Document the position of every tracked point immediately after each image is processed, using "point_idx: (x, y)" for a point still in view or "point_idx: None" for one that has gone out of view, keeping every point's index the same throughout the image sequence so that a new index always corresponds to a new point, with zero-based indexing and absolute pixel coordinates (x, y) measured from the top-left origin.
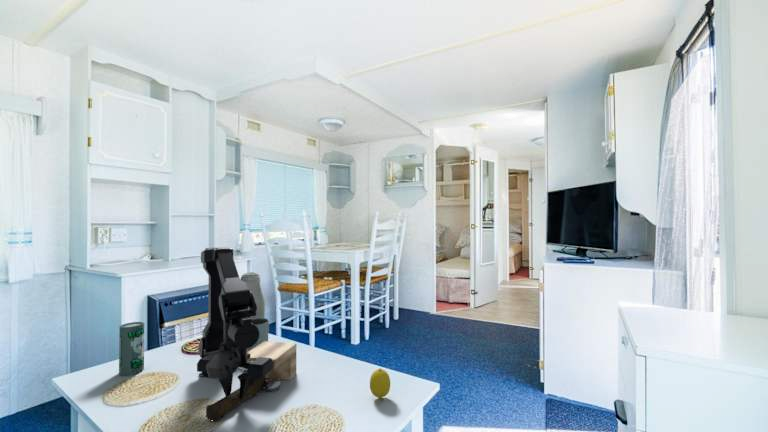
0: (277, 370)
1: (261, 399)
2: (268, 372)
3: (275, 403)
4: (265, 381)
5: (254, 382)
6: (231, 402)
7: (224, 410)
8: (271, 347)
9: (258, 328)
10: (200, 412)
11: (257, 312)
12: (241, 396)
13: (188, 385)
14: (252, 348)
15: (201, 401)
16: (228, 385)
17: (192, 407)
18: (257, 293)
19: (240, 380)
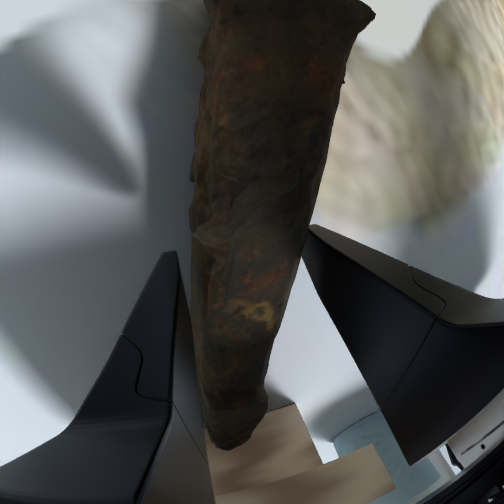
0: (215, 456)
1: (123, 327)
2: (253, 435)
3: (21, 325)
4: (202, 415)
5: (207, 404)
6: (201, 167)
7: (206, 73)
8: None
9: (384, 501)
10: (398, 93)
11: (407, 502)
12: (160, 266)
13: (489, 263)
14: (375, 445)
15: (436, 193)
16: (355, 305)
17: (450, 135)
18: None
19: (150, 426)
